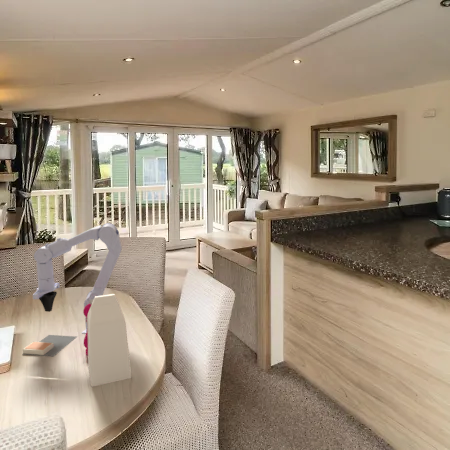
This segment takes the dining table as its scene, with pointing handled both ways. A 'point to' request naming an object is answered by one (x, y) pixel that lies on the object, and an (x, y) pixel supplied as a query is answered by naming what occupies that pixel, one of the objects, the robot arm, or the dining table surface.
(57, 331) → the dining table surface
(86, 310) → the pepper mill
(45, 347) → the block
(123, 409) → the dining table surface
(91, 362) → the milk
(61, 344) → the mat
